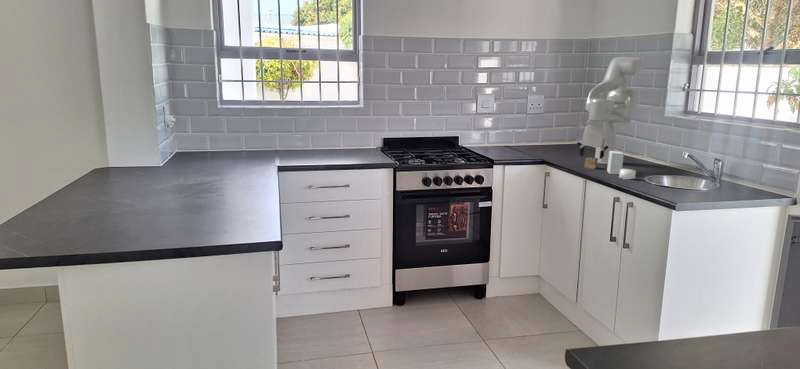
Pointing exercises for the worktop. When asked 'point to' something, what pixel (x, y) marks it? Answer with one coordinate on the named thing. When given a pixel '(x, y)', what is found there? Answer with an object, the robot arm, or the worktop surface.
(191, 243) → the worktop surface
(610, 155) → the small box
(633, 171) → the white small lump
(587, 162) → the walnut cube
